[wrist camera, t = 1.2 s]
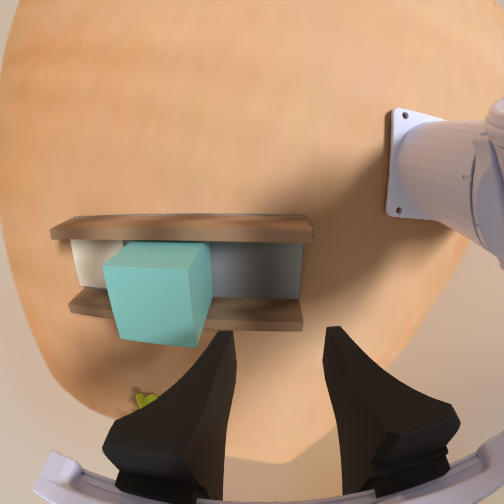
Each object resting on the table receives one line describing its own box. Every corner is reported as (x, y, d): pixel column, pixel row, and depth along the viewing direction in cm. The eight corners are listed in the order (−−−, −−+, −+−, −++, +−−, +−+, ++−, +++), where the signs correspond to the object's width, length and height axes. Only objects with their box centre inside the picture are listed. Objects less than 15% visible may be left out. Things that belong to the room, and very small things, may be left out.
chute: (304, 215, 19) (312, 230, 16) (297, 304, 22) (302, 331, 19) (70, 216, 20) (45, 229, 17) (86, 292, 23) (66, 311, 19)
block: (209, 232, 19) (187, 269, 14) (212, 296, 21) (196, 348, 15) (142, 232, 19) (102, 265, 14) (151, 292, 21) (120, 338, 16)
